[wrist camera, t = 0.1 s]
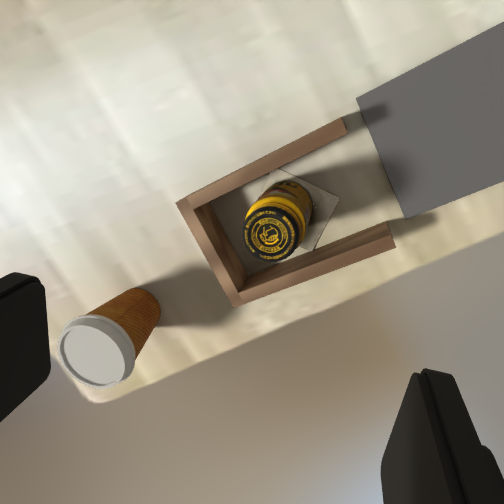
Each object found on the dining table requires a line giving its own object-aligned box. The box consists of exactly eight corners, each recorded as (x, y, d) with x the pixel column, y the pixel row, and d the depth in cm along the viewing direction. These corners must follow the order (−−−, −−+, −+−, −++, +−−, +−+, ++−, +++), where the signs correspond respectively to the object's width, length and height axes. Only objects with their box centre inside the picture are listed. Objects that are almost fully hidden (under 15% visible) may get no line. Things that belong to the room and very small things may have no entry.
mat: (355, 98, 40) (356, 98, 40) (502, 22, 36) (505, 20, 35) (405, 218, 44) (405, 219, 43) (546, 162, 39) (548, 163, 38)
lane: (191, 193, 48) (175, 202, 43) (341, 116, 41) (341, 118, 37) (243, 289, 51) (233, 307, 47) (390, 232, 44) (396, 247, 40)
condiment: (273, 165, 45) (250, 186, 34) (340, 197, 44) (339, 228, 33) (248, 220, 48) (220, 255, 37) (311, 251, 47) (302, 295, 36)
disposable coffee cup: (134, 345, 58) (86, 401, 47) (97, 293, 56) (38, 339, 46) (184, 322, 55) (144, 377, 44) (146, 266, 53) (94, 308, 42)
